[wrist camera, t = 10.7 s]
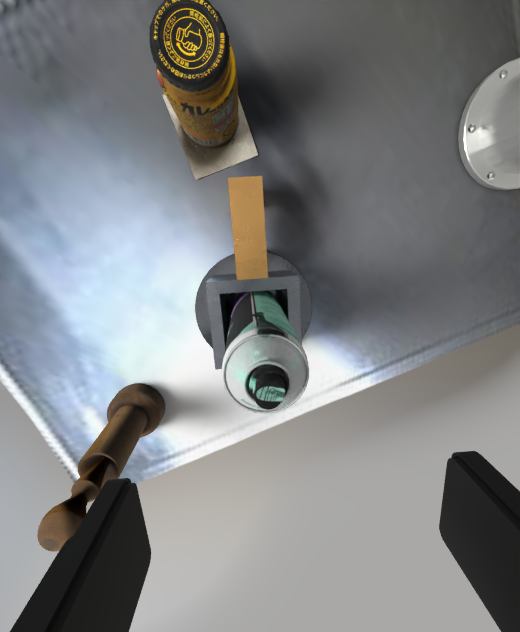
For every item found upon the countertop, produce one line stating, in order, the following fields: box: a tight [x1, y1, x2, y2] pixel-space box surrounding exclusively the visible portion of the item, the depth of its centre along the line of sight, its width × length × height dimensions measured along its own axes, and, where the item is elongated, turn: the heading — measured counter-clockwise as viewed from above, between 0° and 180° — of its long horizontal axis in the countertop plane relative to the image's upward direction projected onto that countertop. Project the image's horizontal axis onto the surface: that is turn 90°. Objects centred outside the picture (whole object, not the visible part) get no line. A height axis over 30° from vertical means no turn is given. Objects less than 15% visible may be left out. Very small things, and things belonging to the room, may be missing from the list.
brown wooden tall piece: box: [38, 384, 165, 551], centre depth 29 cm, size 7×6×18 cm
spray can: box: [222, 290, 309, 413], centre depth 25 cm, size 6×6×20 cm
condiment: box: [150, 0, 258, 179], centre depth 25 cm, size 7×8×12 cm
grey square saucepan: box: [195, 176, 312, 369], centre depth 31 cm, size 14×20×7 cm
